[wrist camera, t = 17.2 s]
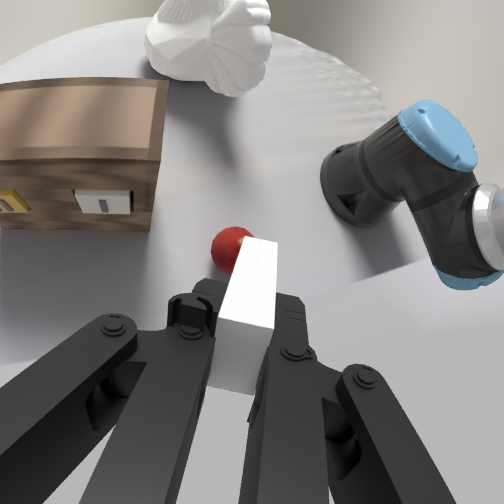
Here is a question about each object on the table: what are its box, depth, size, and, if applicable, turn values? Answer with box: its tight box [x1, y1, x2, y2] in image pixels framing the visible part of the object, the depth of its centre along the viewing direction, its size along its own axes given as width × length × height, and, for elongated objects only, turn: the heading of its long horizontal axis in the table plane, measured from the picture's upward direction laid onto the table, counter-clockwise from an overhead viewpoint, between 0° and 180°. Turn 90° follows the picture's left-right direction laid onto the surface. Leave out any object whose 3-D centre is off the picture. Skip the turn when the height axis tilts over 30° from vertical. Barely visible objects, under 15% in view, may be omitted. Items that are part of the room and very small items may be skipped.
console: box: [0, 77, 169, 232], centre depth 27 cm, size 22×8×20 cm, turn 93°
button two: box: [0, 189, 29, 213], centre depth 24 cm, size 5×5×5 cm
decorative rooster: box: [144, 0, 272, 97], centre depth 35 cm, size 25×16×25 cm, turn 17°
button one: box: [75, 189, 132, 214], centre depth 28 cm, size 5×5×5 cm
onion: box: [211, 227, 254, 274], centre depth 39 cm, size 6×6×8 cm
